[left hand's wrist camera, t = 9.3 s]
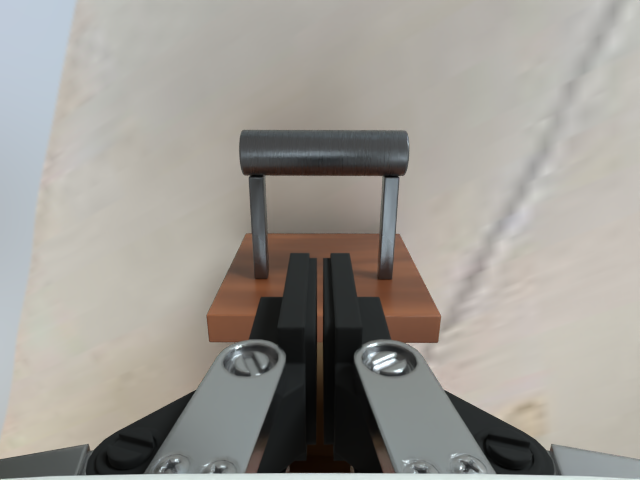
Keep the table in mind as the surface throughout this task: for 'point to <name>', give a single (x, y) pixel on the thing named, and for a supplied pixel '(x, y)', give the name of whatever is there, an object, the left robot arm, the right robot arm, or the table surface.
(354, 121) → the table surface
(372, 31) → the table surface
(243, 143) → the drawer
